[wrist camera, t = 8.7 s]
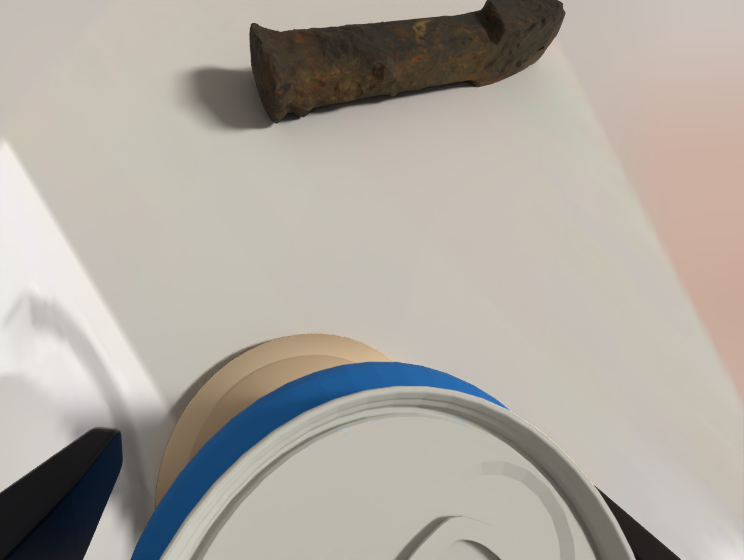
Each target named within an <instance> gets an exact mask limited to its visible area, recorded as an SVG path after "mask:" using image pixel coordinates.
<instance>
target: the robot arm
mask: <svg viewBox="0 0 744 560" xmlns="http://www.w3.org/2000/svg"><path fill="white" fill-rule="evenodd" d="M122 461H123V455H122V439H121V432H120V430H119V429H116V428H106V427H96V428H93V429H91V430H89V431H88V432H86V433H85V434H83V435H82V436H81V437H79V438H78V439H76V440H75V441H73V442H72V443H71V444H69V445H68V446H66V447H65V448H63V449H62V450H61V451H59V452H58V453H56V454H55V455H53V456H52V457H51V458H49V459H48V460H46V461H45V462H43V463H42V464H41V465H39V466H38V467H37V468H35V469H33V470H32V471H31V472H29V473H28V474H26V475H25V476H23V477H22V478H21V479H19V480H18V481H16V482H15V483H13V484H12V485H11V486H9V487H8V488H7V489H5V490H4V491H2V492H1V493H0V560H83V558H84V556H85V554H86V551H87V549H88V547H89V545H90V542H91V540H92V537H93V535H94V533H95V530H96V528H97V525H98V523H99V521H100V518H101V516H102V513H103V511H104V509H105V506H106V504H107V502H108V499H109V497H110V494H111V492H112V490H113V487H114V485H115V482H116V480H117V478H118V475H119V473H120V470H121V467H122ZM594 486H595V485H594ZM595 487H596V486H595ZM596 489H597V490H598V491H599V493H600V494H601V496H602V498H603V499H604V501H605V502H606V504H607V506H608V507H609V509H610V510H611V512H612V514H613V515H614V517H615V518H616V520H617V522H618V524H619V526H620V528H621V530H622V532H623V534H624V536H625V538H626V540H627V542H628V544H629V546H630V548H631V550H632V552H633V554H634V557H635V559H636V560H681V559H680V558H679V557H678V556H676V555H675V554H674V553H673V552H672V551H671V550H669V549H668V548H667V547H666V546H665V545H664V544H662V543H661V542H660V541H659V540H658V539H657V538H655V537H654V536H653V535H652V534H651V533H650V532H648V531H647V530H646V529H645V528H644V527H643V526H641V525H640V524H639V523H638V522H637V521H635V520H634V519H633V518H632V517H631V516H630V515H628V514H627V513H626V512H625V511H624V510H623V509H621V508H620V507H619V506H618V505H617V504H616V503H614V502H613V501H612V500H611V499H610V498H609V497H607V496H606V495H605V494H604V493H603V492H602V491H600V490H599V489H598V488H597V487H596Z"/></svg>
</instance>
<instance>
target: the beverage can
mask: <svg viewBox="0 0 744 560" xmlns="http://www.w3.org/2000/svg"><path fill="white" fill-rule="evenodd" d="M131 560H636V559H635V557H634V554H633V552H632V550H631V548H630V546H629V544H628V542H627V540H626V538H625V536H624V534H623V532H622V530H621V528H620V526H619V524H618V522H617V520H616V518H615V517H614V515H613V514H612V512H611V510H610V509H609V507H608V506H607V504H606V502H605V501H604V499H603V498H602V496H601V494H600V493H599V491H598V490H597V489H596V487H595V486H594V485H593V484H592V482H591V481H590V480H589V479H588V477H587V476H586V475H585V473H584V472H583V471H582V470H581V468H580V467H579V466H578V465H577V464H576V463H575V462H574V461H573V460H572V459H571V458H570V457H569V456H568V455H567V454H566V453H565V452H564V451H563V450H562V449H561V448H560V447H559V446H558V445H557V444H556V443H555V442H554V441H553V440H551V439H550V438H549V437H548V436H546V435H545V434H544V433H543V432H541V431H540V430H539V429H538V428H536V427H535V426H534V425H532V424H531V423H529V422H527V421H526V420H524V419H523V418H521V417H519V416H518V415H516V414H514V413H513V412H511V411H510V410H509V409H508V408H506V407H505V406H504V405H503V404H501V403H500V402H499V401H498V400H496V399H495V398H493V397H492V396H490V395H488V394H487V393H485V392H483V391H482V390H480V389H479V388H477V387H475V386H474V385H472V384H469V383H467V382H465V381H463V380H461V379H458V378H456V377H454V376H452V375H449V374H447V373H444V372H440V371H437V370H434V369H430V368H427V367H424V366H419V365H412V364H406V363H400V362H361V363H353V364H345V365H340V366H336V367H332V368H328V369H324V370H320V371H316V372H313V373H311V374H308V375H306V376H303V377H301V378H298V379H296V380H293V381H291V382H288V383H286V384H284V385H283V386H281V387H279V388H277V389H275V390H274V391H272V392H270V393H268V394H267V395H265V396H263V397H261V398H259V399H258V400H257V401H255V402H254V403H252V404H251V405H250V406H248V407H247V408H246V409H244V410H243V411H241V412H240V413H239V414H237V415H236V416H235V417H233V418H232V419H231V420H230V421H229V422H228V423H226V424H225V425H224V426H223V427H222V428H221V429H220V430H219V431H218V432H217V433H216V434H215V435H214V436H212V437H211V438H210V439H209V440H208V441H207V442H206V443H205V444H204V445H203V446H202V448H201V449H200V450H199V451H198V452H197V453H196V455H195V456H194V457H193V458H192V459H191V460H190V462H189V463H188V464H187V465H186V466H185V467H184V469H183V470H182V471H181V472H180V473H179V475H178V476H177V478H176V479H175V481H174V482H173V484H172V485H171V487H170V488H169V490H168V491H167V492H166V494H165V495H164V497H163V498H162V500H161V501H160V503H159V504H158V506H157V507H156V509H155V511H154V513H153V515H152V517H151V519H150V520H149V522H148V524H147V526H146V528H145V530H144V532H143V534H142V535H141V537H140V539H139V541H138V543H137V545H136V547H135V550H134V552H133V555H132V557H131Z"/></svg>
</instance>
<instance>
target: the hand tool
mask: <svg viewBox="0 0 744 560" xmlns="http://www.w3.org/2000/svg"><path fill="white" fill-rule="evenodd" d="M564 16H565V11H564V10H563V3H561V2H560V1H558V0H487V1H486V3H485V5H484V7H483V8H482V9H481V10H479V11H475V12H469V13H466V14H461V15H455V16H440V17H430V18H420V19H410V20H399V21H390V22H383V21H382V22H380V23H370V24H369V23H368V24H354V25H345V26H339V27H326V28H310V29H298V30H295V29H294V30H288V31H283V32H279V31H274V30H270V29H267V28H263V27H261V26H259V25H258V24H256V23H252V24H251V27H250V33H249V35H250V52H251V66H252V71H253V75H254V78H255V81H256V85H257V88H258V92H259V95H260V98H261V101H262V103H263V106H264V108H265V110H266V112H267V114H268V115H269V117H270V118H271V120H272V121H273V122H274V123H278V122H280V121H281V120H282V119H283V117H284V116H285V115H286V114H287V113H289V112H291V113H293V114H295V115H298V116H301V117H305V116H306V115H307V114H308V112H309V111H311V110H312V109H313V108H316V107H320V106H325V105H330V104H337V103H344V102H349V101H353V100H357V99H360V98H365V97H371V96H378V95H386V94H388V95H391V96H395V95H396V94H398V93H399V92H404V91H410V90H420V89H422V88H426V87H432V86H438V85H445V84H451V83H456V82H462V81H468V82H469V83H470V84H471V85H473V86H475V87H481V86H485V85H489V84H492V83H495V82H498V81H501V80H503V79H505V78H507V77H510V76H512V75H514V74H516V73H518V72H520V71H522V70H524V69H525V68H527V67H528V66H530V65H532V64H534V63H535V62H536V61H537V60H538V59H539V58H540V57H541V56H542V55H543V53H544V52H545V50H546V49H547V48H548V46H549V45H550V43H551V42H552V41H553V39H554V38H555V37H556V35H557V34H558V31H559V29H560V27H561V24H562V22H563V19H564Z"/></svg>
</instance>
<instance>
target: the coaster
mask: <svg viewBox="0 0 744 560" xmlns="http://www.w3.org/2000/svg"><path fill="white" fill-rule="evenodd" d="M361 362H393V361H392V360H391V359H389V358H388V357H386V356H385V355H383V354H382V353H380V352H379V351H377V350H375V349H373V348H371V347H369V346H367V345H365V344H363V343H360V342H358V341H355V340H352V339H349V338H345V337H340V336H335V335H326V334H301V335H293V336H288V337H283V338H279V339H276V340H273V341H269V342H266V343H263V344H261V345H259V346H257V347H255V348H253V349H250V350H248V351H246V352H245V353H243V354H241V355H240V356H238V357H237V358H235V359H233V360H232V361H230V362H229V363H228V364H226V365H225V366H224V367H223V368H221V369H220V370H219V371H218V372H216V373H215V374H214V375H213V376H212V377H211V378H210V379H209V380H208V381H207V382H206V383H205V384H204V385H203V386H202V387H201V388H200V390H199V391H198V392H197V394H196V395H195V396H194V397H193V399H192V400H191V401H190V403H189V404H188V405H187V407H186V409H185V410H184V412H183V413H182V415H181V417H180V418H179V420H178V422H177V423H176V426H175V428H174V430H173V432H172V434H171V437H170V439H169V441H168V443H167V446H166V449H165V453H164V456H163V459H162V462H161V465H160V471H159V476H158V481H157V487H156V502H155V509H156V507H157V506H158V504H159V503H160V501H161V500H162V498H163V497H164V495H165V494H166V492H167V491H168V490H169V488H170V487H171V485H172V484H173V482H174V481H175V479H176V478H177V476H178V475H179V473H180V472H181V471H182V470H183V469H184V467H185V466H186V465H187V464H188V463H189V462H190V460H191V459H192V458H193V457H194V456H195V455H196V453H197V452H198V451H199V450H200V449H201V448H202V446H203V445H204V444H205V443H206V442H207V441H208V440H209V439H210V438H211V437H212V436H214V435H215V434H216V433H217V432H218V431H219V430H220V429H221V428H222V427H223V426H224V425H225V424H226V423H228V422H229V421H230V420H231V419H232V418H233V417H235V416H236V415H237V414H239V413H240V412H241V411H243V410H244V409H246V408H247V407H248V406H250V405H251V404H252V403H254V402H255V401H257V400H258V399H259V398H261V397H263V396H265V395H267V394H268V393H270V392H272V391H274V390H275V389H277V388H279V387H281V386H283V385H284V384H286V383H288V382H291V381H293V380H296V379H298V378H301V377H303V376H306V375H308V374H311V373H313V372H316V371H320V370H324V369H328V368H332V367H336V366H340V365H345V364H353V363H361Z"/></svg>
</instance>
